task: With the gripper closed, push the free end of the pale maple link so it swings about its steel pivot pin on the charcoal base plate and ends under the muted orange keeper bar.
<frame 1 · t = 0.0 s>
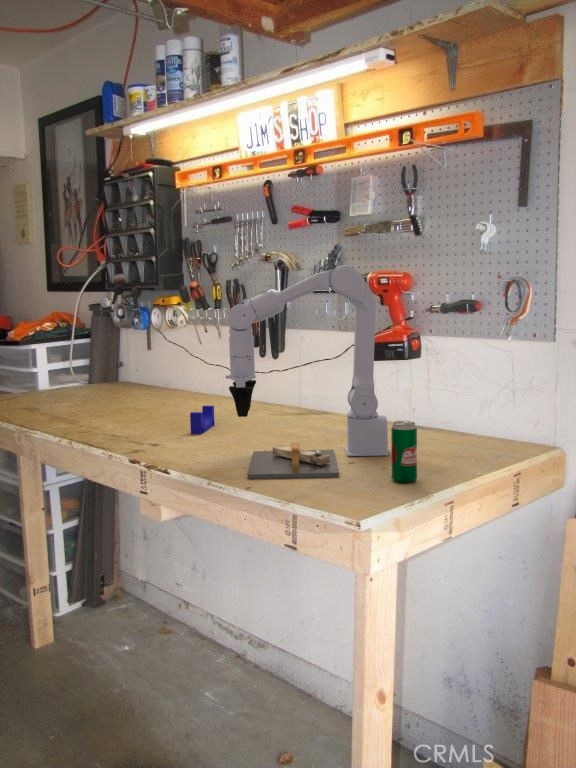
hand: (244, 413, 161), 10 cm above the table, fingers open, 7 cm apart
link: (300, 454, 153), point 2 cm above the table, hinge at -45.0°
base plate: (293, 465, 152), on the table
soda can: (404, 481, 139), on the table
cable clip: (200, 430, 194), on the table
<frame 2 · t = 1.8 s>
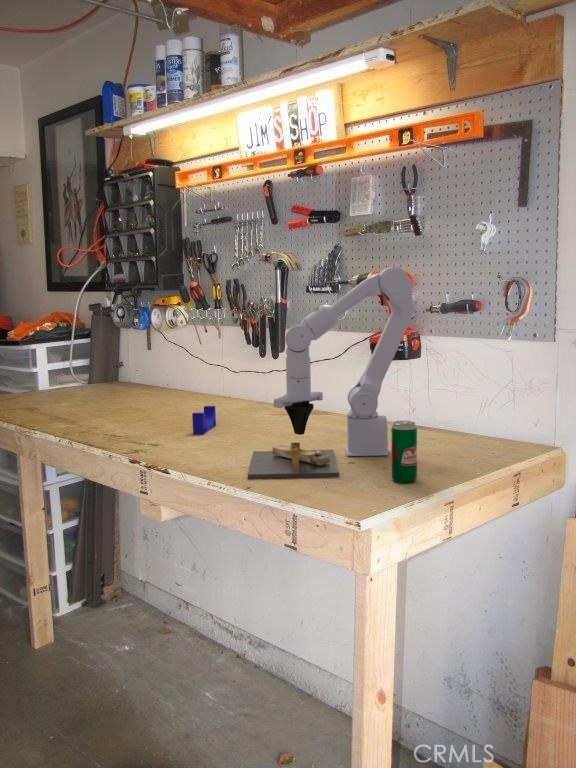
hand: (299, 433, 162), 5 cm above the table, fingers closed
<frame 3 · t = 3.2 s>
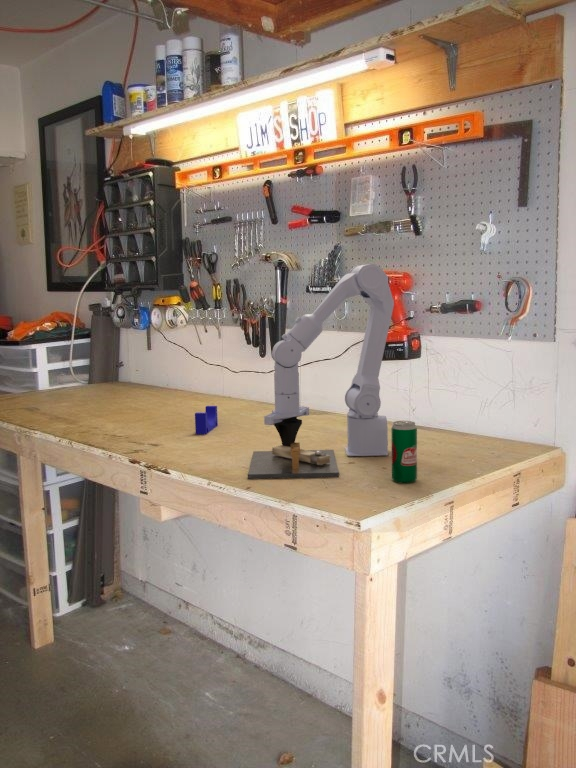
hand: (288, 450, 159), 2 cm above the table, fingers closed
link: (300, 454, 153), point 2 cm above the table, hinge at -44.5°, touching gripper
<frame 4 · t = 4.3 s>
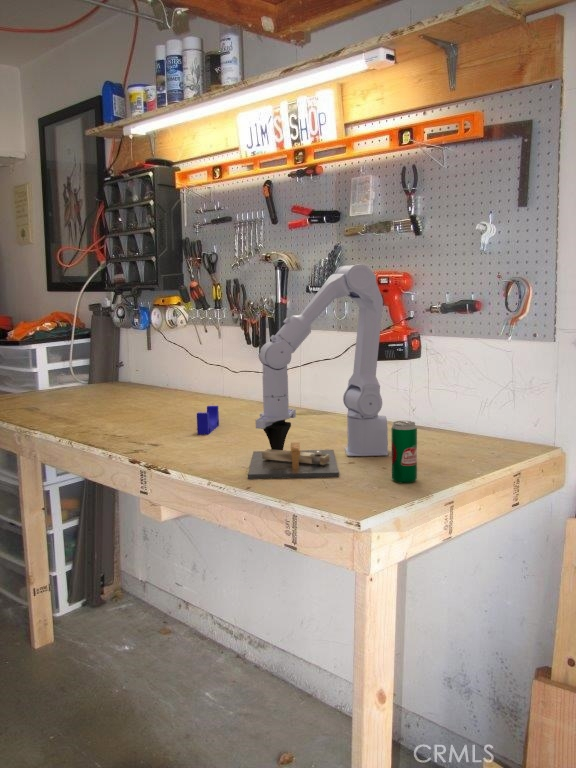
hand: (277, 453, 156), 2 cm above the table, fingers closed
link: (295, 456, 152), point 2 cm above the table, hinge at -24.1°, touching gripper
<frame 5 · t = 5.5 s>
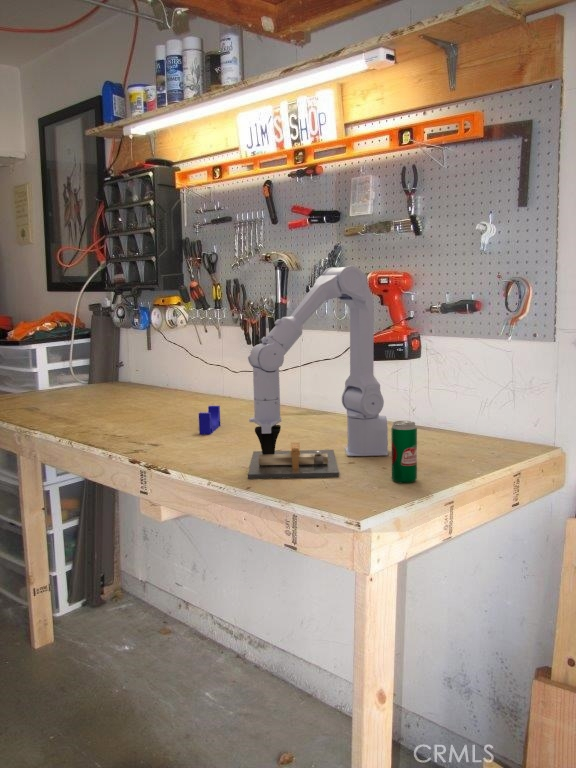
hand: (268, 458, 152), 2 cm above the table, fingers closed
link: (293, 459, 150), point 2 cm above the table, hinge at -0.8°, touching gripper
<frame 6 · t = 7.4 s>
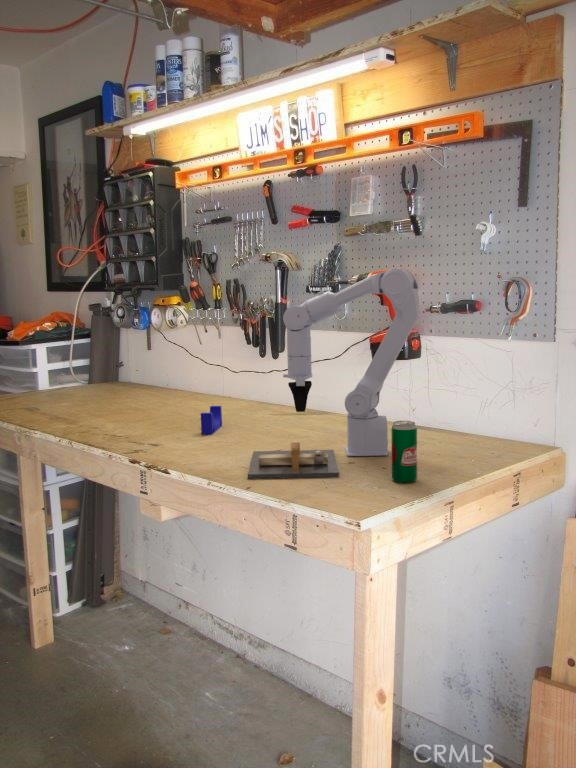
hand: (300, 411, 166), 9 cm above the table, fingers closed
link: (293, 459, 150), point 2 cm above the table, hinge at -0.5°
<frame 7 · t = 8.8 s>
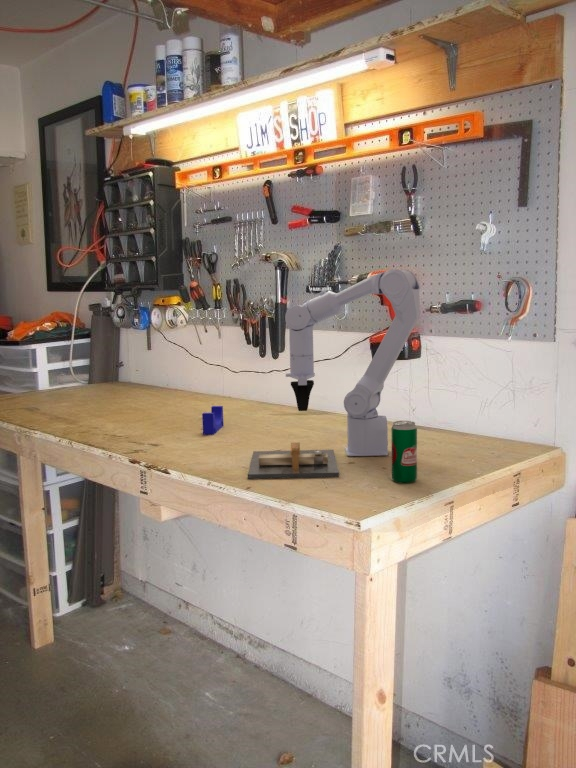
hand: (302, 410, 167), 9 cm above the table, fingers closed
at the end: link at +0° (first picture: -45°); soda can moved 0.2 cm from its start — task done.
